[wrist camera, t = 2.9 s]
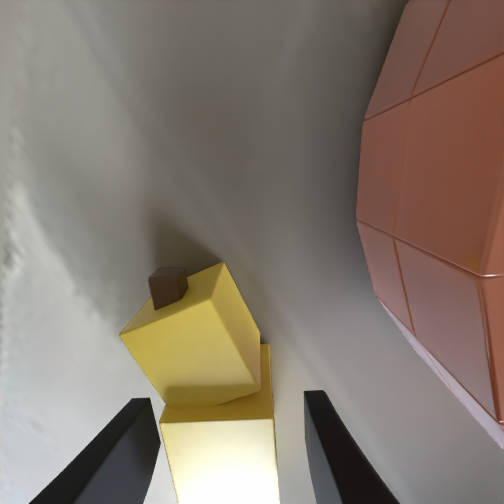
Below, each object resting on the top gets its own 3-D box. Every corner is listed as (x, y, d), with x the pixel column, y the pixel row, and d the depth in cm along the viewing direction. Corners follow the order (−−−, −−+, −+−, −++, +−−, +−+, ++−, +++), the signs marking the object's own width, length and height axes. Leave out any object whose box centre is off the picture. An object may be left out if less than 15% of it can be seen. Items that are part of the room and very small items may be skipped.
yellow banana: (277, 474, 11) (284, 576, 9) (194, 477, 12) (174, 577, 9) (262, 248, 8) (265, 287, 6) (150, 255, 9) (95, 298, 6)
